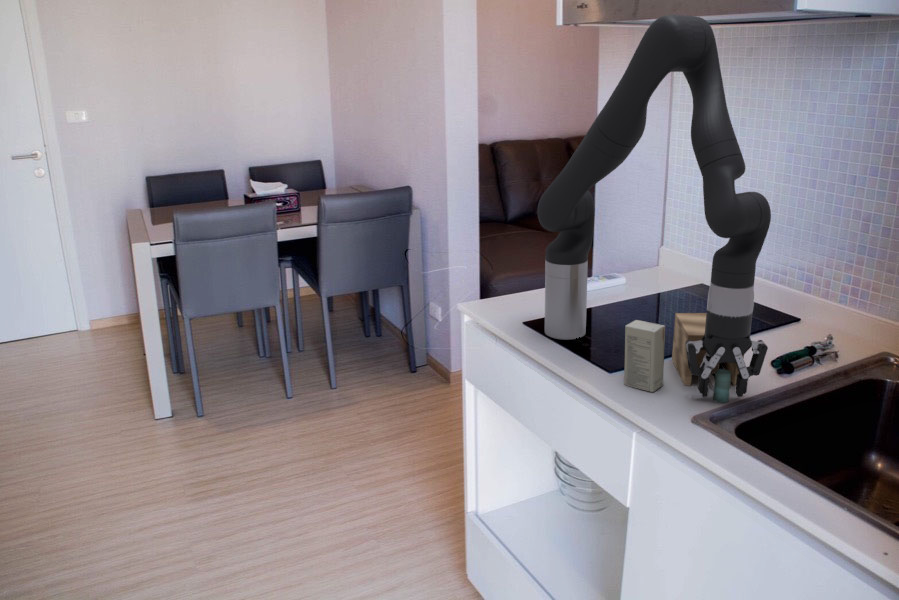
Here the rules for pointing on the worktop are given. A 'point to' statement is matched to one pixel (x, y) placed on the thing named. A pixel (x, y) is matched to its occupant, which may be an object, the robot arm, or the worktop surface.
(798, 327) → the worktop surface
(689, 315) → the oak cubby
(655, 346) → the skincare box
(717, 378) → the mallet
